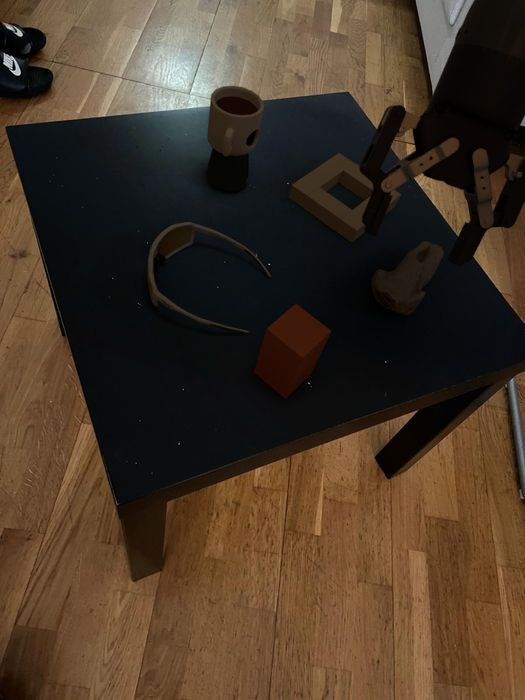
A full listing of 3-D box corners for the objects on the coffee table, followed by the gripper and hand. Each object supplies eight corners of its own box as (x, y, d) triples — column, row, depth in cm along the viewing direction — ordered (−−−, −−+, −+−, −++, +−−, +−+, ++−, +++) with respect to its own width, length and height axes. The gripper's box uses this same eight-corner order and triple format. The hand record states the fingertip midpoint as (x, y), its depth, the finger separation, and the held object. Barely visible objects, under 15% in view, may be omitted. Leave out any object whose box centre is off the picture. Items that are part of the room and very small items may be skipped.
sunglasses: (170, 229, 73) (176, 203, 69) (270, 276, 75) (281, 253, 71) (124, 305, 65) (128, 280, 61) (238, 355, 67) (249, 334, 63)
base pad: (395, 206, 84) (401, 194, 82) (352, 243, 78) (357, 230, 76) (334, 165, 87) (339, 152, 85) (288, 197, 81) (291, 184, 79)
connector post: (311, 373, 65) (331, 330, 57) (285, 399, 62) (303, 358, 55) (280, 348, 66) (295, 303, 58) (253, 372, 63) (266, 328, 56)
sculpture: (399, 248, 80) (353, 300, 72) (415, 224, 77) (368, 276, 68) (440, 275, 79) (398, 332, 70) (457, 252, 75) (415, 310, 67)
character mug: (242, 210, 78) (256, 131, 67) (195, 198, 78) (201, 117, 67) (255, 164, 84) (270, 85, 74) (211, 152, 84) (219, 72, 73)
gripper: (433, 16, 38) (346, 231, 45) (603, 87, 40) (498, 284, 47) (406, 31, 45) (334, 216, 51) (553, 92, 47) (467, 263, 53)
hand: (412, 248), depth 49 cm, fingers open, 8 cm apart
